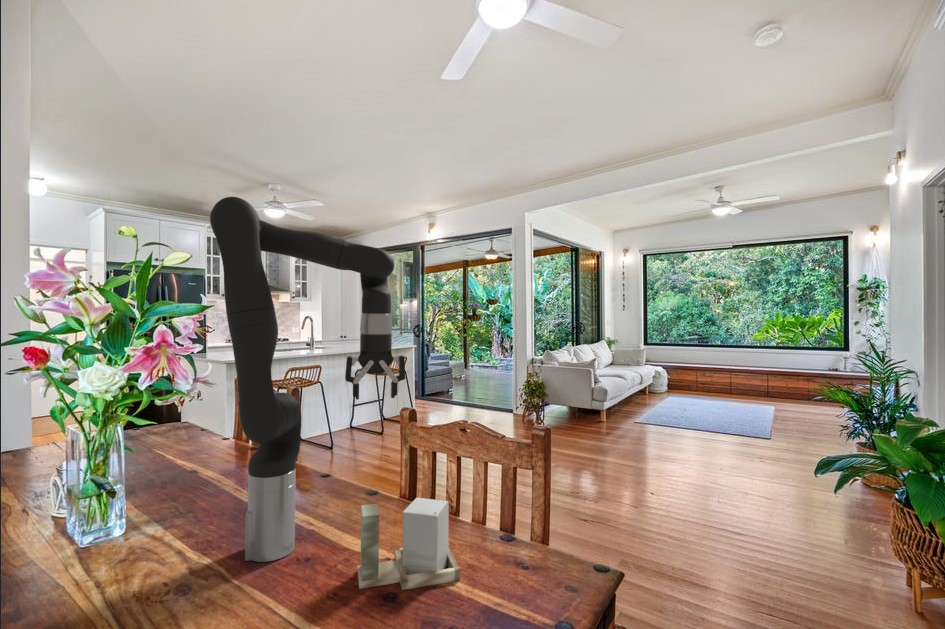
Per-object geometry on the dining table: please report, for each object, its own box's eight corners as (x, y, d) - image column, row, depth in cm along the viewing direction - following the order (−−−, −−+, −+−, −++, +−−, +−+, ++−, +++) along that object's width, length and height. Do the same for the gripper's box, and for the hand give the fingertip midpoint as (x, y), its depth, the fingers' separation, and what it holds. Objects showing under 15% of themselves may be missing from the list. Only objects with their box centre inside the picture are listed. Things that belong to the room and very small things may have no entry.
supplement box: (449, 562, 91) (450, 500, 91) (436, 583, 84) (437, 516, 84) (415, 556, 93) (416, 496, 93) (400, 576, 86) (401, 511, 86)
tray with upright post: (359, 597, 79) (360, 524, 79) (357, 563, 90) (358, 499, 90) (459, 580, 84) (460, 512, 84) (446, 550, 95) (446, 490, 95)
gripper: (346, 332, 103) (345, 402, 103) (407, 332, 107) (406, 400, 107) (345, 331, 110) (344, 396, 110) (403, 331, 114) (402, 394, 114)
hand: (375, 398), depth 109 cm, fingers open, 8 cm apart
